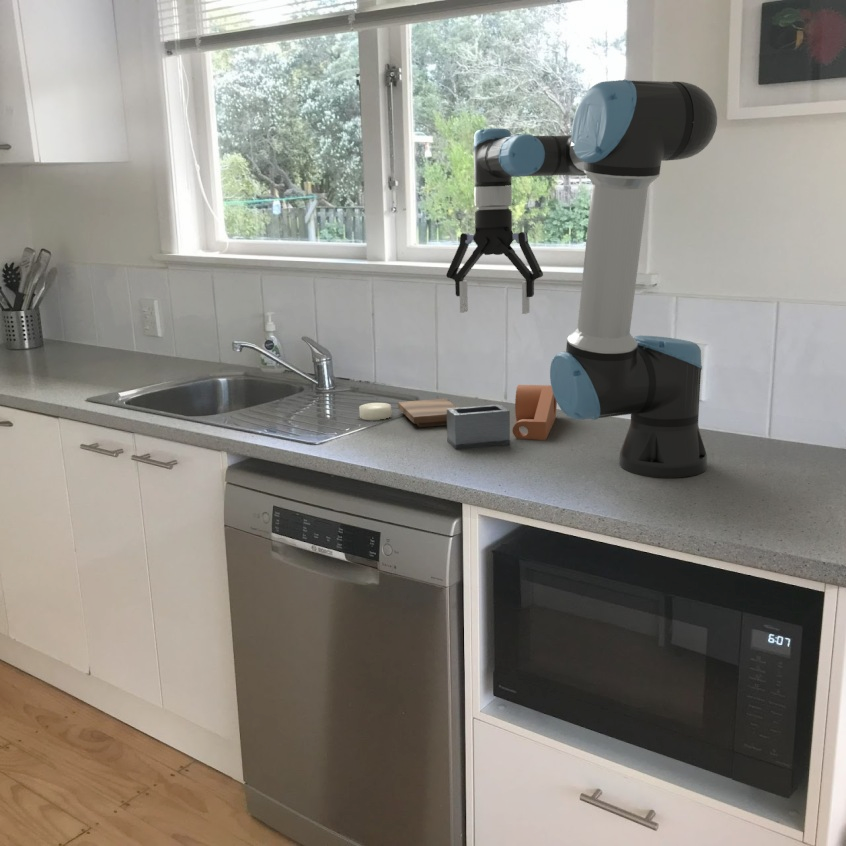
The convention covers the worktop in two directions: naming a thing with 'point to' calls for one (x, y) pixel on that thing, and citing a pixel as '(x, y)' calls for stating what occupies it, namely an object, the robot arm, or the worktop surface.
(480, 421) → the housing
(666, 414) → the robot arm
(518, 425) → the crank
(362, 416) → the cream round puck
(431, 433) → the worktop surface
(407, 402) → the stand
